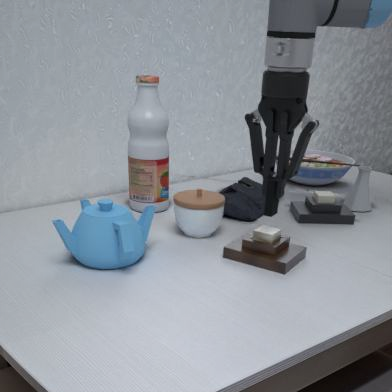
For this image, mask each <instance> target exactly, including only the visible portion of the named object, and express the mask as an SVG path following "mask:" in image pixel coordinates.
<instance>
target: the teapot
mask: <svg viewBox="0 0 392 392" xmlns="http://www.w3.org/2000/svg"><path fill="white" fill-rule="evenodd" d="M79 202H80V208H81V212H80V213H79V215H78V217H77V219H76V220H75V223H74V225H73V227H72V230H70V229H69V228H68V226H67V225H66V224H65V222H64V220H63V219H62V218H58V219H53V220H51V221H52V224H53V226H54V228H55V230H56V232H57V234H58V235H59V237H60V239H61V241H62V243H63V245H64V246H65V248H66V250H67V251H68V252H69V253H71V255H72V256H73V257H74V258H75V259H76V260H77V261H78V262H79V263H80V264H82V265H83V266H86V267H88V268H92V269H98V270H115V269H121V268H123V269H124V268H127V267H129V266H132V265H134V264H135V263H137V262H138V261H139V259H140V258H141V257H142V256H143V255H144V253H145V251H146V242H147V241H148V237H149V233H150V230H151V226H152V223H153V220H154V216H155V213H156V212H155V209H156V207H155V206H154V205H148V206H146V208H145V209H144V211H143V212H141V214H140V216H139V218H138V219H136V217H135V215H134V214H133V213H132V211H131V210H130V209H129V208H128V207H126V206H125V205H123V204H118V203H114V200H113V199H110V198H100V199H98V200H97V201H96V202H97V203H95V204H92V203H91V202H90V200H89V199H87V198H84V199H79Z"/></svg>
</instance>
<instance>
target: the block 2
mask: <svg viewBox="0 0 392 392" xmlns="http://www.w3.org/2000/svg"><path fill="white" fill-rule="evenodd" d="M313 196H314V195H305V199H304V200H302V201H301V200H290V203H289V204H290V205H289V211H290V213H291V214H292V216H293V218H294V219H295V220H296V222H297V224H304V225H305V224H307V225H312V224H313V225H354V224H355V221H356V214H355V213H354V211H351V210H350V209H349V208H348V207H347V206H346V205H345V204H344V203H343V202H344V201H342V202H341V201H339V200H338V199H337V198H336V197H335V201H334V204H331V203H316V202H315V201H314V200H313Z"/></svg>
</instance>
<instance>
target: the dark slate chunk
mask: <svg viewBox="0 0 392 392" xmlns="http://www.w3.org/2000/svg"><path fill="white" fill-rule="evenodd" d="M262 185H263V183H260V182H258V181H255V180H252V179H251V178H249V177H247V176H243V177H242V178H241V179H239V180H237V182H233V183H232V184H230V185H228V186H226V187H224V188H223V189H222V190H220V191H219V192H218V193H219V194H222V195H223V196H224V197H225V204H224V213H223V216H228V217H231V218H235V219H238V220H240V221H245V222H246V221H247V222H250V221H251V222H252V221H255V220H257V219H260V218H261V217H262V216H264V209H265V199H266V196H263V195H262Z"/></svg>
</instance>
